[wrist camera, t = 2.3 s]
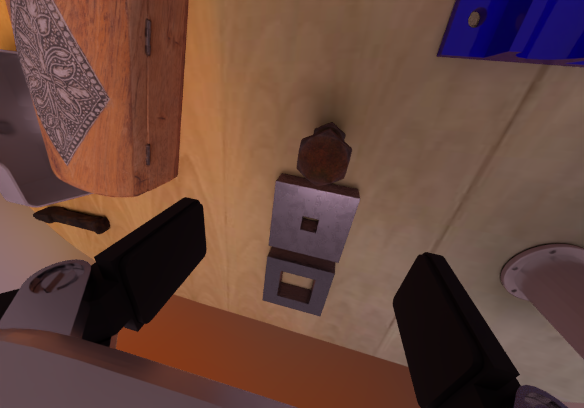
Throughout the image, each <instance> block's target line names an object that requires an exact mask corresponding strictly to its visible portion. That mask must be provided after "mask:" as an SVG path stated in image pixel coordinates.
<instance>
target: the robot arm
mask: <svg viewBox="0 0 584 408" xmlns="http://www.w3.org/2000/svg"><path fill="white" fill-rule="evenodd" d="M205 254H206V237H205V225H204V213H203V205H202V204H200V202H199V201H198V200H196V199H191V198H187V197H185V198H183V199H181V200H180V201H178V202H177V203H175V204H173V205H172V206H170V207H169V208H167V209H166V210H164V211H163V212H161V213H160V214H158V215H157V216H155V217H154V218H152V219H151V220H149V221H148V222H146V223H145V224H143V225H142V226H140V227H139V228H137V229H136V230H134V231H133V232H131V233H130V234H128V235H127V236H125V237H124V238H122V239H121V240H119V241H118V242H116V243H115V244H113V245H112V246H110V247H109V248H107V249H106V250H104V251H103V252H101V253H99V254H98V255H96V256H95V257H94V258H95V260H96V263H94V264H93V265H90V264H89V263H88V262H86V261H84V260H67V261H62V262H58V263H55V264H52V265H50V266H48V267H45V268H43V269H41V270H39V271H38V272H36V273H34V274H33V275H32V276H30V277H29V278H28V279H27V280H26V281H25V282H24V283H23V284H22V286H21V288H20V289H17V290H13V291H9V292H5V293H1V294H0V408H297V407H293V406H291V405H287V404H284V403H281V402H278V401H275V400H272V399H269V398H266V397H263V396H260V395H257V394H253V393H251V392H248V391H245V390H242V389H238V388H235V387H232V386H229V385H226V384H223V383H220V382H217V381H214V380H211V379H208V378H205V377H202V376H198V375H195V374H192V373H189V372H186V371H183V370H180V369H177V368H173V367H170V366H167V365H164V364H161V363H158V362H155V361H151V360H148V359H145V358H142V357H139V356H136V355H133V354H130V353H127V352H123V351H120V350H117V349H116V343H117V335H118V332H119V331H120V330H121V329H122V328H123V327H125V328H128V329H131V330H134V331H137V332H138V331H139V330H140V329H141V327H142V326H143V325H144V324H147V323H149V322H150V321H151V320H152V319H153V318H154V317H155V315H156V314H157V313H158V312H159V311H160V309H161V308H162V307H163V306H164V305H165V303H166V302H167V301H168V300H169V299H170V297H171V296H172V295H173V294H174V293H175V291H176V290H177V289H178V288H179V287H180V285H181V284H182V283H183V282H184V281H185V279H186V278H187V277H188V276H189V275H190V273H191V272H192V271H193V270H194V269H195V267H196V266H197V265H198V264H199V263H200V261H201V260H202V259H203V258H204V256H205ZM501 282H502V284H503V286H504V287H505V288H506V290H507V291H508V292H509V293H511V294H512V295H514V296H515V297H518V298H520V299H524V300H528V301H530V302H531V303H532V304H533V305H534V306H535V307H536V308H537V309H538V310H539V311H540V313H541V314H542V315H543V316H544V317H545V318H546V319H547V320H548V321H549V322H550V323H551V325H552V326H553V327H554V328H555V329H556V330H557V331H558V332H559V333H560V334H561V335H562V336H563V338H564V339H565V340H566V341H567V342H568V343H569V344H570V345H571V346H572V347H573V348H574V349H575V351H576V352H577V353H578V354H579V355H580V356H581V357H582V358H583V359H584V249H583V248H581V247H578V246H574V245H570V244H549V245H543V246H538V247H535V248H531V249H529V250H526V251H524V252H522V253H520V254H518V255H516V256H515V257H514V258H512V259H511V260H510V261H509V262H508V263H507V264H506V265H505V266H504V268H503V270H502V272H501ZM393 308H394V312H395V316H396V320H397V324H398V328H399V332H400V335H401V339H402V343H403V347H404V351H405V355H406V359H407V363H408V367H409V371H410V375H411V379H412V382H413V386H414V390H415V394H416V398H417V401H418V404H419V406H420V407H421V408H568V407H567V406H565V405H564V404H563V403H562V402H561V401H559V400H558V399H557V398H555V397H553V396H552V395H550V394H549V393H547V392H546V391H543V390H541V389H539V388H537V387H535V386H530V385H523V386H521V385H520V384H519V382H518V380H517V379H516V377H517V376H519V375H520V374H519V373H518V371H517V369H516V368H515V366H514V365H513V363H512V362H511V360H510V359H509V357H508V355H507V354H506V352H505V351H504V349H503V348H502V346H501V345H500V343H499V342H498V340H497V338H496V337H495V335H494V334H493V332H492V331H491V329H490V328H489V326H488V325H487V323H486V321H485V320H484V318H483V317H482V315H481V314H480V312H479V311H478V309H477V307H476V306H475V304H474V303H473V301H472V300H471V298H470V297H469V295H468V294H467V292H466V290H465V289H464V287H463V286H462V284H461V283H460V281H459V280H458V278H457V277H456V275H455V273H454V272H453V270H452V269H451V267H450V266H449V264H448V263H447V261H446V260H445V258H444V257H443V256H441V255H437V254H433V253H428V252H425V253H423V254H422V255H418V256H417V258H416V260H415V262H414V263H413V265H412V267H411V269H410V270H409V272H408V274H407V275H406V277H405V279H404V281H403V282H402V284H401V286H400V288H399V289H398V291H397V293H396V295H395V296H394V299H393Z"/></svg>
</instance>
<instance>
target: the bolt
mask: <svg viewBox="0 0 584 408" xmlns="http://www.w3.org/2000/svg"><path fill="white" fill-rule="evenodd" d="M344 139H345V133H344V132H343V131H342V130H340V129H339V128H338V127H337V126H336V125H335V124H334V123H333V122H331V123H328V124H325V125H323V126H320V127H318V128H316V129H315V130H314V134H313V135H311V136H309V137H306V138H303V139H302V140H301V144H300V148H299V154H298V161H297V169H298V170H299V172H300V173H301V174H302V175H303V176H304V177H306V178H307V179H308V180H309V181H310V182H312V183H313V184H315V185H317V186H320V185H326V184H330V183H334V182H336V181H339V180H341V179H344V177H345V174H346V171H347V168H348V164H349V161H350V157H351V152H352V148H351V147H350V146H349V145H348V144H347V143H345V142H344Z"/></svg>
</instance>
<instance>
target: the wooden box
mask: <svg viewBox="0 0 584 408" xmlns="http://www.w3.org/2000/svg"><path fill="white" fill-rule="evenodd" d="M5 1H6V5H7V9H8V12H9V16H10V20H11V24H12V28H13V34H14V39H15V44H16V50H17V53H18V57H19V60H20V63H21V67H22V70H23V72H24V76H25V78H26V82H27V85H28V88H29V91H30V95H31V98H32V102H33V105H34V109H35V112H36V116H37V119H38V123H39V126H40V130H41V133H42V137H43V140H44V143H45V147H46V151H47V154H48V158H49V161H50V165H51V168H52V170H53V172H54V174H55V175H56V176H57V177H58V178H59V179H60V180H62V181H64V182H66V183H68V184H69V185H72V186H74V187H76V188H79V189H81V190H84V191H87V192H90V193H94V194H99V195H104V196H110V197H135V196H139V195H141V194H143V193H145V192H147V191H150V190H152V189H154V188H156V187H158V186H160V185H162V184H165V183H167V182H169V181H170V180H172V179H174V178H175V177H177V175H178V161H179V144H180V127H181V112H182V97H183V79H184V65H185V50H186V33H187V18H188V0H5Z"/></svg>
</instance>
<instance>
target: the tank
mask: <svg viewBox="0 0 584 408" xmlns="http://www.w3.org/2000/svg"><path fill="white" fill-rule="evenodd" d="M0 192H1V194H2V196H3V197H4V198H5V200H7V201H9V202H13V203H17V204H21V205H26V206H30V207H42V206H46V205H50V204H54V203H58V202H62V201H66V200H70V199H74V198H78V197H81V196H85V195H89V194H93V193H90V192H87V191H84V190H81V189H79V188H76V187H74V186H72V185H69V184H68V183H66V182H64V181H62V180H60V179H59V178H58V177H57V176H56V175H55V174H54V172H53V170H52V168H51V165H50V161H49V158H48V154H47V151H46V147H45V143H44V140H43V137H42V133H41V130H40V126H39V123H38V119H37V116H36V112H35V109H34V105H33V102H32V98H31V95H30V91H29V88H28V85H27V82H26V78H25V76H24V72H23V70H22V67H21V63H20V60H19V57H18V53H17V52H16V51H8V50H1V49H0Z"/></svg>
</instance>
